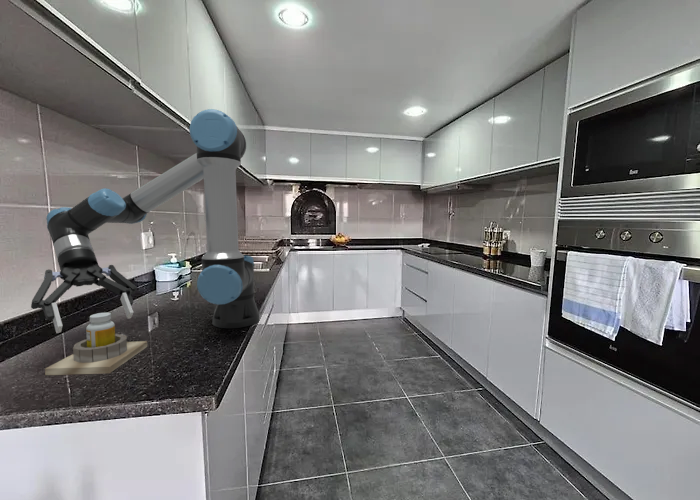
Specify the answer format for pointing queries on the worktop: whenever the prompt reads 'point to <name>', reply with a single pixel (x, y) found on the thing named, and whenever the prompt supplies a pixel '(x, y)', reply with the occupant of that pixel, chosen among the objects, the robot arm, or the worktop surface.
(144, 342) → the jig plate
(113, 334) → the supplement bottle
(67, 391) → the worktop surface
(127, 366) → the worktop surface
